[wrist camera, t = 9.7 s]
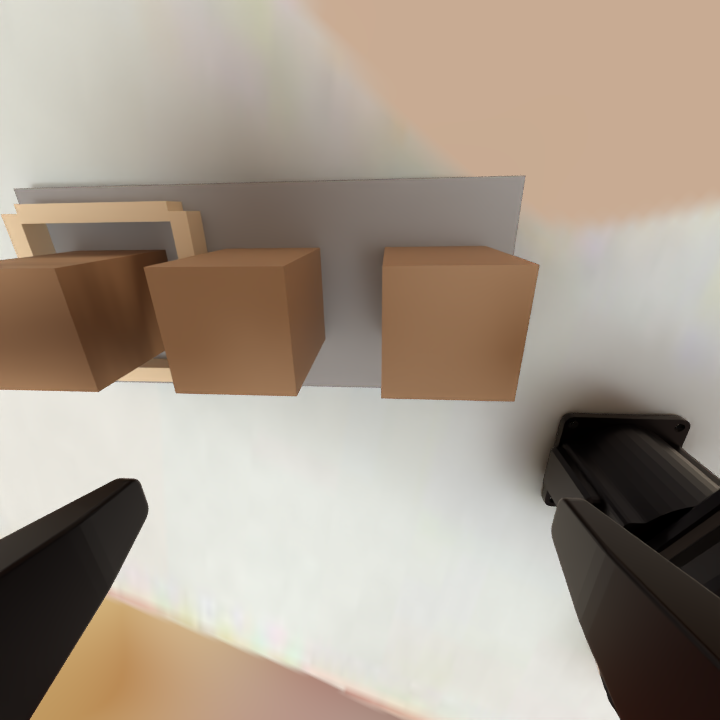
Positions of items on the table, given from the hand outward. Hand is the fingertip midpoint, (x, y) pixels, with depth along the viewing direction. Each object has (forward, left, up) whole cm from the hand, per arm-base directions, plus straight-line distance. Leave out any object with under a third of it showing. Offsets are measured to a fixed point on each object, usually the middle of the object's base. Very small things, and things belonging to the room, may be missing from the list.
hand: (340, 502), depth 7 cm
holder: (+5, -2, -12) cm, 13 cm away
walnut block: (+12, -2, -11) cm, 16 cm away
